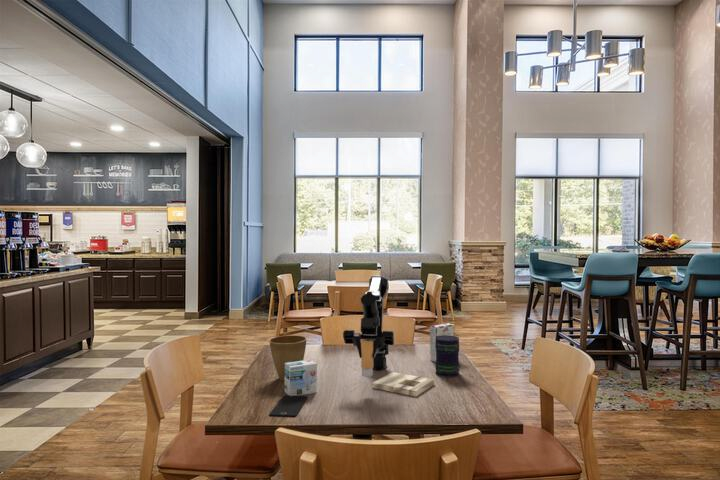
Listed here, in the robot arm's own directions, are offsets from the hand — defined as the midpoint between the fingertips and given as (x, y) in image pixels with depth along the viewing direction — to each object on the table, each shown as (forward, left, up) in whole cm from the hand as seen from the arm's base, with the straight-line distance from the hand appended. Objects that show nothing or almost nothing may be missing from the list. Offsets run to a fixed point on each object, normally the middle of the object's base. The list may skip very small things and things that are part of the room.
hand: (366, 357), depth 164 cm
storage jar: (+15, +40, -14) cm, 45 cm away
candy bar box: (+5, +59, -14) cm, 60 cm away
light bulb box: (-22, -10, -14) cm, 28 cm away
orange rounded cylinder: (-1, +1, -7) cm, 7 cm away
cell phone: (-16, -23, -14) cm, 32 cm away
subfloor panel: (+7, +16, -13) cm, 22 cm away
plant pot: (-37, 0, -14) cm, 40 cm away
